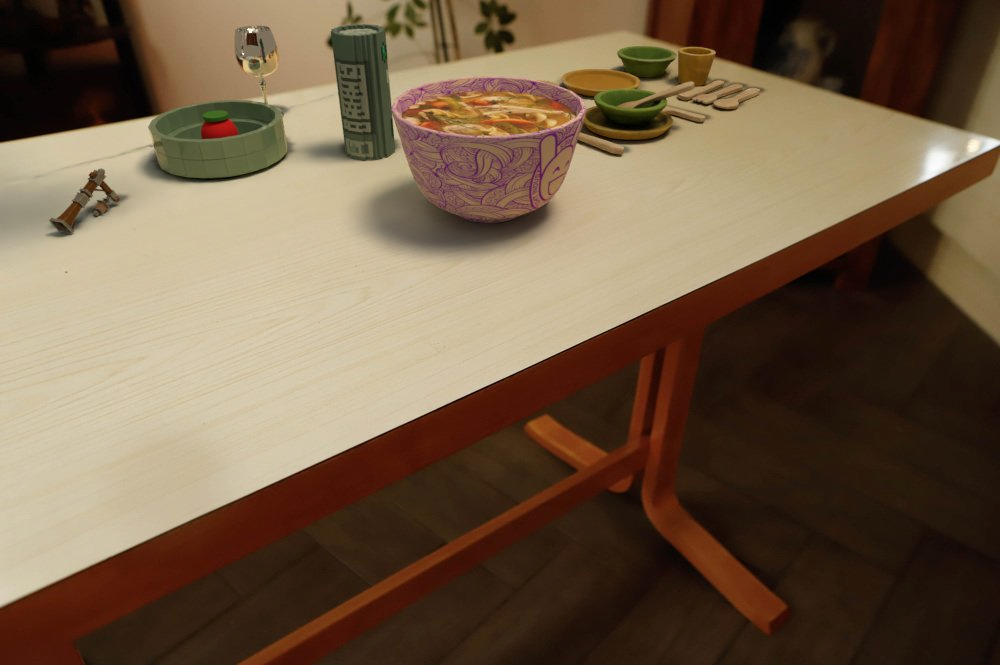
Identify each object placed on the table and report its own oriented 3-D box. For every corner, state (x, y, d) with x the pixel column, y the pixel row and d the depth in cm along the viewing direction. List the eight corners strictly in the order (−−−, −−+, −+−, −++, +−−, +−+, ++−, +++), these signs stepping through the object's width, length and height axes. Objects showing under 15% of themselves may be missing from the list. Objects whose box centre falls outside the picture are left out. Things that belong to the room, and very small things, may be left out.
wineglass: (294, 117, 105) (280, 30, 98) (255, 125, 102) (238, 36, 96) (280, 107, 109) (265, 23, 102) (242, 114, 106) (225, 28, 100)
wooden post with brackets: (129, 194, 81) (105, 164, 77) (87, 249, 77) (60, 221, 73) (116, 191, 81) (91, 162, 77) (74, 246, 77) (46, 218, 74)
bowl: (137, 159, 92) (125, 120, 89) (245, 128, 101) (238, 92, 99) (200, 193, 83) (190, 151, 80) (312, 156, 93) (306, 117, 90)
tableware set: (615, 161, 92) (620, 112, 88) (466, 111, 108) (465, 68, 104) (772, 93, 116) (781, 52, 112) (631, 61, 132) (635, 24, 128)
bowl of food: (600, 241, 74) (611, 131, 67) (404, 256, 71) (395, 143, 65) (556, 167, 90) (561, 72, 83) (395, 177, 87) (387, 80, 81)
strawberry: (199, 154, 92) (189, 114, 89) (230, 145, 95) (221, 106, 92) (217, 163, 89) (208, 122, 87) (248, 153, 92) (240, 113, 89)
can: (402, 146, 96) (393, 26, 87) (379, 162, 91) (366, 37, 83) (362, 140, 98) (349, 22, 89) (338, 155, 93) (321, 33, 84)
